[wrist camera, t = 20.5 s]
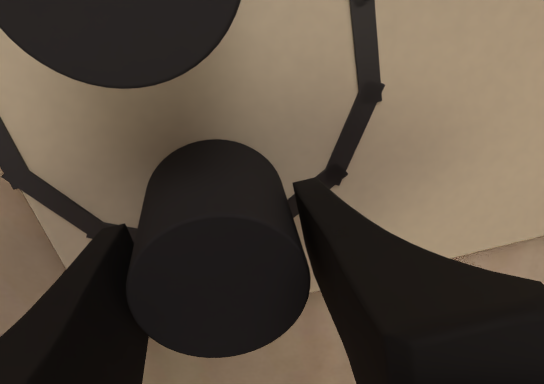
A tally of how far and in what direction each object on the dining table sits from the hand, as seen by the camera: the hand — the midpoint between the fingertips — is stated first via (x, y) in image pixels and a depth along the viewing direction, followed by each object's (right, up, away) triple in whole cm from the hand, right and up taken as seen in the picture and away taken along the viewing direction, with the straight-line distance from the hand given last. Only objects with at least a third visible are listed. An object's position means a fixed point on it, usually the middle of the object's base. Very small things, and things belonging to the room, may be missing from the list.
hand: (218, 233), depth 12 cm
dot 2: (0, +1, +1) cm, 2 cm away
